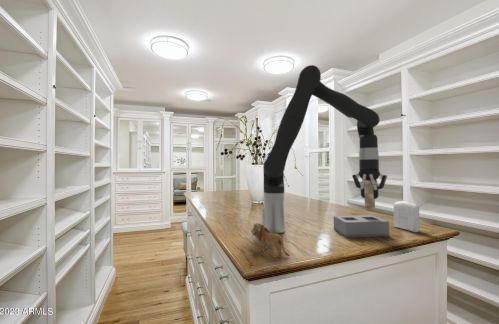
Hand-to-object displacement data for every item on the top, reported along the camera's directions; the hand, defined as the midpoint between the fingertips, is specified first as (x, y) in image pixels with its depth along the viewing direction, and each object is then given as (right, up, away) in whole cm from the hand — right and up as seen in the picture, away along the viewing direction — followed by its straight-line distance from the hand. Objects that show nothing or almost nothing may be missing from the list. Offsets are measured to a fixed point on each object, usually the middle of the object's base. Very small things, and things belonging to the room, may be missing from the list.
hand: (369, 198), depth 102 cm
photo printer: (+19, -15, +4) cm, 24 cm away
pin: (0, -4, 0) cm, 4 cm away
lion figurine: (-45, -15, -22) cm, 53 cm away
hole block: (-4, -15, 0) cm, 15 cm away
